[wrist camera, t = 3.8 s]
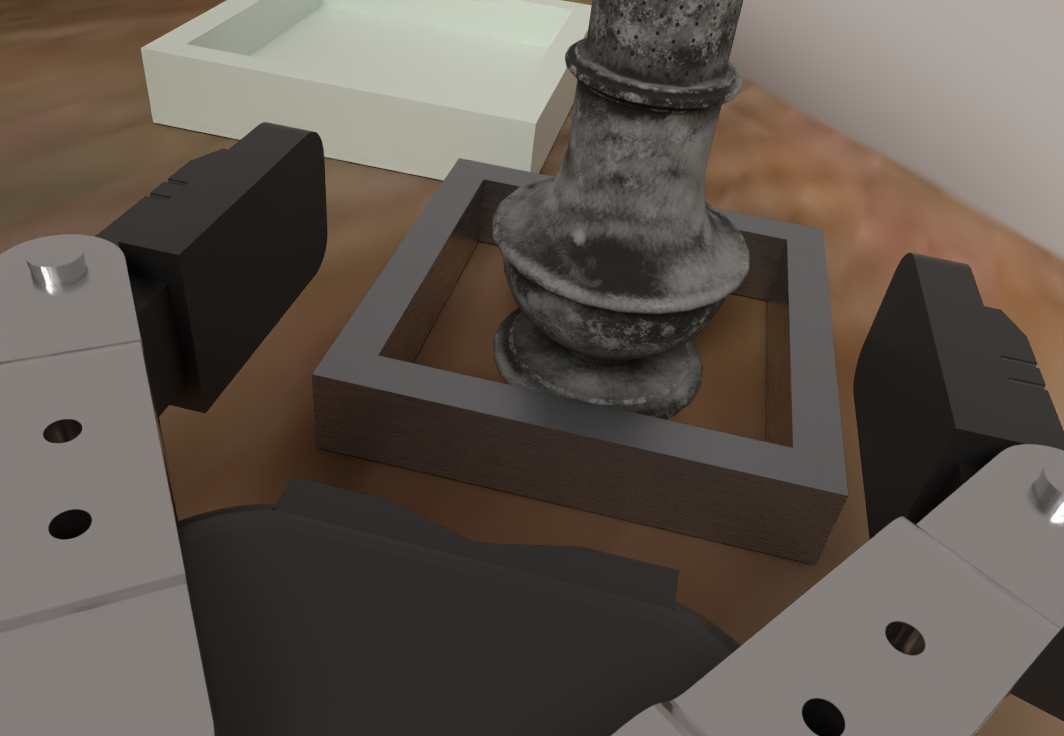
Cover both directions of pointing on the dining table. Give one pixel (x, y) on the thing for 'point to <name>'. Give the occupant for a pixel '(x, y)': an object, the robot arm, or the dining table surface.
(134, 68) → the dining table surface
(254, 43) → the tray
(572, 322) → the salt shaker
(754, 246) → the holder
